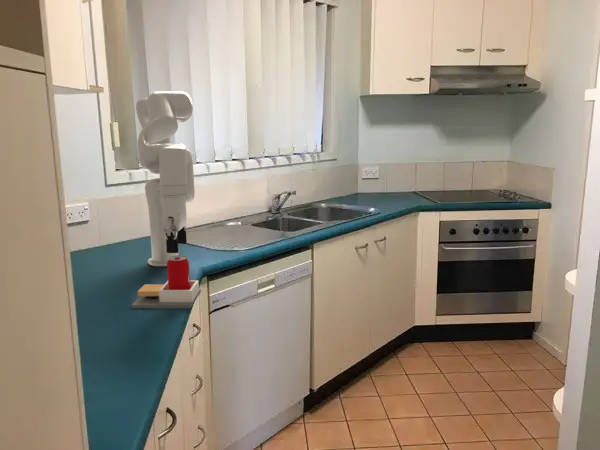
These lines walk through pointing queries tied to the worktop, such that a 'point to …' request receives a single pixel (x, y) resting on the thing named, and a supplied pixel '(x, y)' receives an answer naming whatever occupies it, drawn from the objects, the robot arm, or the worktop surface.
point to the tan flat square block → (150, 290)
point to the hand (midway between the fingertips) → (177, 247)
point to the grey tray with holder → (170, 297)
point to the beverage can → (178, 273)
